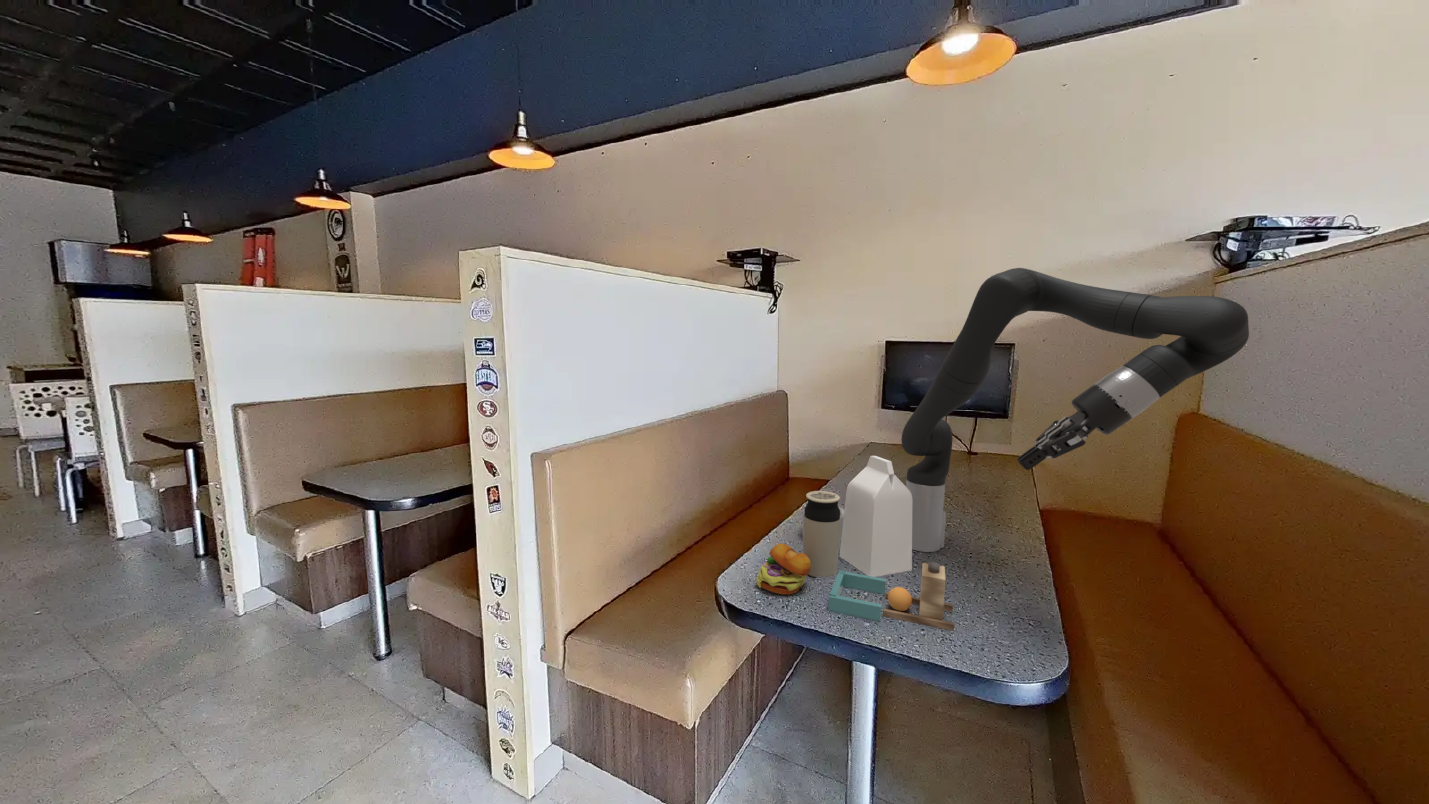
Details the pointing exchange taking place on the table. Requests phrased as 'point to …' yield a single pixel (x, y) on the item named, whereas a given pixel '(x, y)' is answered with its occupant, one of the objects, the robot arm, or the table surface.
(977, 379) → the robot arm
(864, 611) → the teal u-shaped frame
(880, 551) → the milk
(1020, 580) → the table surface
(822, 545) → the travel mug
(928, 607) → the tan rectangular block
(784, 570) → the cheeseburger
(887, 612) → the channel
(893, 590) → the ball
